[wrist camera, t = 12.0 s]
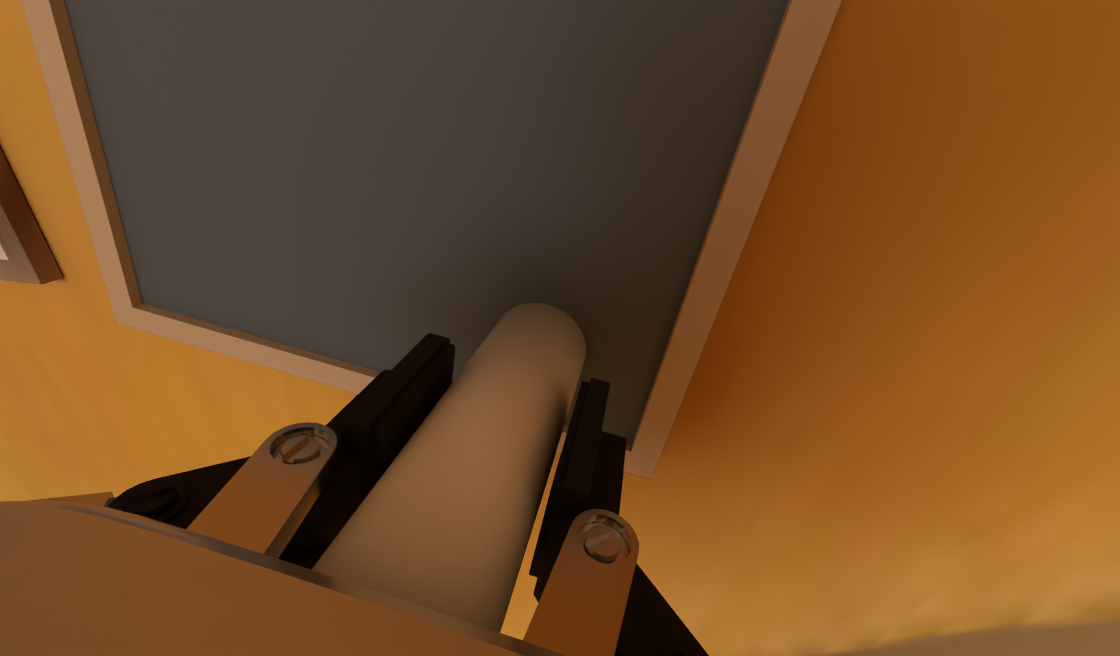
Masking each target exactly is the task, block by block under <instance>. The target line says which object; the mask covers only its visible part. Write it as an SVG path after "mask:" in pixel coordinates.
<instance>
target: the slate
mask: <svg viewBox="0 0 1120 656" xmlns="http://www.w3.org/2000/svg"><path fill="white" fill-rule="evenodd" d="M21 2H22V5H23V9H24V12H25V15H26V19H27V22H28V26H29V29H30V32H31V36H32V39H33V43H34V46H35V49H36V53H37V56H38V60H39V63H40V66H41V70H42V73H43V76H44V80H45V83H46V87H47V90H48V93H49V97H50V100H51V104H52V107H53V110H54V114H55V117H56V120H57V124H58V127H59V131H60V134H61V137H62V141H63V144H64V148H65V151H66V154H67V158H68V161H69V164H70V168H71V171H72V175H73V178H74V181H75V185H76V188H77V192H78V195H79V198H80V202H81V205H82V209H83V212H84V215H85V219H86V222H87V225H88V229H89V232H90V236H91V239H92V242H93V246H94V249H95V253H96V256H97V259H98V263H99V266H100V269H101V273H102V276H103V280H104V283H105V286H106V290H107V293H108V297H109V300H110V303H111V307H112V310H113V314H114V317H115V320H116V323H118V324H121V325H125V326H128V327H131V328H135V329H138V330H142V331H145V332H148V333H152V334H155V335H159V336H162V337H166V338H169V339H172V340H176V341H179V342H183V343H186V344H189V345H193V346H196V347H200V348H203V349H206V350H210V351H213V352H217V353H220V354H223V355H227V356H230V357H234V358H237V359H240V360H244V361H247V362H251V363H254V364H258V365H261V366H264V367H268V368H271V369H275V370H278V371H281V372H285V373H288V374H292V375H295V376H298V377H302V378H305V379H309V380H312V381H315V382H319V383H322V384H326V385H329V386H332V387H336V388H339V389H343V390H346V391H350V392H353V393H356V394H359V393H360V392H361V391H362V390H363V389H364V388H365V387H366V386H367V385H368V384H369V383H370V382H371V381H372V380H373V379H374V378H375V377H376V376H377V375H378V374H379V373H381V372H382V371H383V370H387V369H388V370H392V369H393V368H394V367H395V366H396V365H397V364H398V363H399V362H400V361H401V360H402V359H403V358H404V357H405V356H406V355H407V354H408V353H409V352H410V351H411V350H412V349H413V348H414V347H415V346H416V345H417V344H418V343H419V342H420V341H421V340H422V339H423V338H424V337H425V336H426V335H427V334H428V333H433V334H436V335H440V336H443V337H447V338H449V339H450V344H453V345H455V357H454V367H453V377H452V383H453V381H454V380H455V379H456V377H457V376H458V375H459V373H460V372H461V371H462V369H463V368H464V367H465V365H466V364H467V363H468V361H469V360H470V359H471V357H472V356H473V355H474V353H475V352H476V351H477V350H478V348H479V347H480V346H481V344H482V343H483V342H484V340H485V339H486V338H487V336H488V335H489V334H490V332H491V331H492V330H493V328H494V327H495V326H496V324H497V323H498V322H499V320H500V319H501V318H502V317H503V315H504V314H505V313H506V312H508V311H509V310H510V309H512V308H514V307H516V306H518V305H521V304H525V303H535V302H536V303H544V304H549V305H552V306H555V307H557V308H559V309H561V310H562V311H564V312H566V313H567V314H568V315H569V316H571V317H572V318H573V319H574V320H575V322H576V323H577V324H578V326H579V327H580V329H581V331H582V333H583V335H584V338H585V342H586V356H585V361H584V364H583V367H582V370H581V373H580V377H579V380H578V383H577V386H576V390H575V393H574V396H573V399H572V402H571V406H570V409H569V412H568V415H567V419H566V422H565V425H564V428H563V431H562V435H561V438H560V441H559V444H558V448H557V451H556V452H557V453H561V452H562V448H563V445H564V441H565V438H566V434H567V431H568V427H569V424H570V420H571V417H572V414H573V410H574V407H575V403H576V400H577V396H578V393H579V389H580V386H581V382H582V381H586V382H589V383H590V379H591V378H595V379H598V380H602V381H606V382H609V383H610V388H609V394H608V399H607V404H606V410H605V415H604V421H603V426H602V431H604V432H607V433H611V434H614V435H618V436H621V437H625V438H626V439H627V443H626V453H625V462H624V472H626V473H629V474H632V475H636V476H639V477H643V478H646V479H649V480H651V478H652V476H653V473H654V471H655V468H656V466H657V463H658V461H659V458H660V456H661V453H662V451H663V448H664V446H665V443H666V441H667V438H668V436H669V433H670V431H671V428H672V426H673V423H674V421H675V418H676V416H677V413H678V411H679V408H680V406H681V403H682V401H683V398H684V396H685V393H686V391H687V388H688V386H689V383H690V381H691V378H692V376H693V373H694V371H695V368H696V366H697V363H698V361H699V358H700V355H701V353H702V350H703V348H704V345H705V343H706V340H707V338H708V335H709V333H710V330H711V328H712V325H713V323H714V320H715V318H716V315H717V313H718V310H719V308H720V305H721V303H722V300H723V298H724V295H725V293H726V290H727V288H728V285H729V283H730V280H731V278H732V275H733V273H734V270H735V268H736V265H737V263H738V260H739V258H740V255H741V253H742V250H743V248H744V245H745V243H746V240H747V238H748V235H749V232H750V230H751V227H752V225H753V222H754V220H755V217H756V215H757V212H758V210H759V207H760V205H761V202H762V200H763V197H764V195H765V192H766V190H767V187H768V185H769V182H770V180H771V177H772V175H773V172H774V170H775V167H776V165H777V162H778V160H779V157H780V155H781V152H782V150H783V147H784V145H785V142H786V140H787V137H788V135H789V132H790V130H791V127H792V125H793V122H794V120H795V117H796V115H797V112H798V109H799V107H800V104H801V102H802V99H803V97H804V94H805V92H806V89H807V87H808V84H809V82H810V79H811V77H812V74H813V72H814V69H815V67H816V64H817V62H818V59H819V57H820V54H821V52H822V49H823V47H824V44H825V42H826V39H827V37H828V34H829V32H830V29H831V27H832V24H833V22H834V19H835V17H836V14H837V12H838V9H839V7H840V4H841V2H842V0H21Z"/></svg>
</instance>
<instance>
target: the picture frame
mask: <svg viewBox="0 0 1120 656" xmlns="http://www.w3.org/2000/svg"><path fill="white" fill-rule="evenodd" d="M61 278H63V276H62V274H61V272H60V270H59V268H58V266H57V264H56V262H55V260H54V258H53V256H52V254H51V251H50V249H49V247H48V245H47V243H46V241H45V239H44V237H43V235H42V233H41V231H40V229H39V227H38V225H37V223H36V220H35V218H34V216H33V214H32V212H31V210H30V208H29V206H28V204H27V202H26V200H25V198H24V196H23V194H22V192H21V189H20V187H19V185H18V183H17V181H16V179H15V177H14V175H13V173H12V171H11V169H10V167H9V165H8V163H7V161H6V158H5V156H4V154H3V152H2V150H1V148H0V280H6V281H15V282H24V283H33V284H44V283H48V282H51V281H55V280H58V279H61Z"/></svg>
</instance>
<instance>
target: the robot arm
mask: <svg viewBox="0 0 1120 656" xmlns="http://www.w3.org/2000/svg"><path fill="white" fill-rule="evenodd" d="M454 357H455V345H453V344H450V339H449V338H447V337H443V336H440V335H436V334H433V333H428V334H427V335H426V336H425V337H424V338H423V339H422V340H421V341H420V342H419V343H418V344H417V345H416V346H415V347H414V348H413V349H412V350H411V351H410V352H409V353H408V354H407V355H406V356H405V357H404V358H403V359H402V360H401V361H400V362H399V363H398V364H397V365H396V366H395V367H394V368H393V369H392V370H388V369H387V370H383V371H382V372H381V373H379V374H378V375H377V376H376V377H375V378H374V379H373V380H372V381H371V382H370V383H369V384H368V385H367V386H366V387H365V388H364V389H363V390H362V391H361V392H360V393H359V394H358V395H357V396H356V397H355V398H354V399H353V400H352V401H351V402H350V403H349V404H348V405H346V406H345V407H344V408H343V409H342V410H341V411H340V412H339V413H338V414H337V415H336V416H335V417H334V418H333V419H332V420H331V421H330V422H329V423H328V424H327V425H326V426H325V425H322V424H318V423H308V422H307V423H298V424H293V425H290V426H287V427H284V428H282V429H280V430H278V431H276V432H274V433H273V434H272V435H271V436H270V437H268V438H267V439H266V440H265V441H264V443H263V444H262V445H261V446H260V447H259V448H258V449H257V450H256V452H255V453H254V454H253V455H252V456H251V457H246V458H242V459H238V460H233V461H229V462H225V463H221V464H216V465H212V466H208V467H204V468H199V469H195V470H191V471H187V472H182V473H178V474H174V475H169V476H165V477H161V478H157V479H153V480H150V481H147V482H144V483H140V484H138V485H136V486H134V487H132V488H130V489H128V490H126V491H125V492H123V493H122V494H121V495H119V496H118V497H115V498H114V496H113V493H112V492H105V493H95V494H86V495H76V496H67V497H57V498H48V499H38V500H29V501H3V502H0V656H709V655H708V654H707V653H706V651H705V650H704V649H703V648H702V646H701V645H700V644H699V642H698V641H697V640H696V639H695V637H694V636H693V635H692V633H691V632H690V631H689V630H688V628H687V627H686V626H685V625H684V623H683V622H682V621H681V619H680V618H679V617H678V616H677V614H676V613H675V612H674V610H673V609H672V608H671V607H670V605H669V604H668V603H667V602H666V600H665V599H664V598H663V596H662V595H661V594H660V593H659V591H658V590H657V589H656V587H655V586H654V585H653V584H652V582H651V581H650V580H649V579H648V577H647V576H646V575H645V573H644V572H643V571H642V570H641V568H640V567H639V566H638V564H637V563H636V561H637V557H638V552H639V543H638V539H637V536H636V533H635V532H634V530H633V529H632V527H631V526H630V524H628V523H627V522H626V521H625V520H624V519H623V518H622V517H620V516H619V509H620V500H621V491H622V481H623V472H624V462H625V453H626V443H627V439H626V438H625V437H621V436H618V435H614V434H611V433H607V432H604V431H602V426H603V421H604V415H605V410H606V404H607V399H608V394H609V388H610V383H609V382H606V381H602V380H598V379H595V378H591V379H590V383H589V382H586V381H582V382H581V386H580V389H579V393H578V396H577V400H576V403H575V407H574V410H573V414H572V417H571V420H570V424H569V427H568V431H567V434H566V438H565V441H564V445H563V448H562V452H561V455H560V459H559V462H558V466H557V469H556V473H555V476H554V480H553V483H552V487H551V491H550V495H549V499H548V502H547V506H546V510H545V514H544V518H543V522H542V525H541V529H540V533H539V537H538V541H537V545H536V549H535V552H534V556H533V560H532V564H531V568H530V572H529V575H532V576H535V577H538V578H537V582H536V586H535V590H534V596H535V598H536V599H537V601H538V605H537V608H536V610H535V613H534V615H533V617H532V620H531V622H530V625H529V627H528V629H527V632H526V634H525V636H524V639H523V640H520V639H517V638H514V637H511V636H508V635H505V634H502V633H499V632H496V631H493V630H490V629H487V628H484V627H481V626H478V625H475V624H472V623H469V622H466V621H463V620H461V619H458V618H455V617H452V616H449V615H446V614H443V613H440V612H437V611H434V610H431V609H428V608H425V607H422V606H419V605H416V604H413V603H410V602H407V601H404V600H401V599H398V598H395V597H392V596H389V595H386V594H383V593H380V592H377V591H374V590H371V589H368V588H365V587H362V586H359V585H356V584H353V583H350V582H347V581H344V580H340V579H337V578H334V577H331V576H328V575H325V574H322V573H319V572H316V571H313V570H312V568H313V567H314V566H315V564H316V563H317V562H318V560H319V559H320V558H321V556H322V555H323V554H324V552H325V551H326V550H327V548H328V547H329V546H330V545H331V543H332V542H333V541H334V539H335V538H336V537H337V535H338V534H339V533H340V531H341V530H342V529H343V527H344V526H345V525H346V523H347V522H348V521H349V519H350V518H351V517H352V515H353V514H354V513H355V511H356V510H357V509H358V507H359V506H360V505H361V503H362V502H363V501H364V499H365V498H366V497H367V495H368V494H369V493H370V491H371V490H372V489H373V487H374V486H375V485H376V483H377V482H378V481H379V480H380V478H381V477H382V476H383V474H384V473H385V472H386V470H387V469H388V468H389V466H390V465H391V464H392V462H393V461H394V460H395V458H396V457H397V456H398V454H399V453H400V452H401V450H402V449H403V448H404V446H405V445H406V444H407V442H408V441H409V440H410V438H411V437H412V436H413V434H414V433H415V432H416V430H417V429H418V428H419V426H420V425H421V424H422V422H423V421H424V420H425V418H426V417H427V416H428V415H429V413H430V412H431V411H432V409H433V408H434V407H435V405H436V404H437V403H438V401H439V400H440V399H441V397H442V396H443V395H444V393H445V392H446V391H447V389H448V388H449V387H450V385H451V384H452V377H453V367H454Z"/></svg>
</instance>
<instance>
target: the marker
mask: <svg viewBox="0 0 1120 656" xmlns="http://www.w3.org/2000/svg"><path fill="white" fill-rule="evenodd" d="M585 356H586V342H585V338H584V335H583V333H582V331H581V329H580V327H579V326H578V324H577V323H576V322H575V320H574V319H573V318H572V317H571V316H569V315H568V314H567V313H566V312H564V311H562V310H561V309H559V308H557V307H555V306H552V305H549V304H544V303H536V302H535V303H525V304H521V305H518V306H516V307H514V308H512V309H510V310H509V311H508V312H506V313H505V314H504V315H503V317H502V318H501V319H500V320H499V322H498V323H497V324H496V326H495V327H494V328H493V330H492V331H491V332H490V334H489V335H488V336H487V338H486V339H485V340H484V342H483V343H482V344H481V346H480V347H479V348H478V350H477V351H476V352H475V353H474V355H473V356H472V357H471V359H470V360H469V361H468V363H467V364H466V365H465V367H464V368H463V369H462V371H461V372H460V373H459V375H458V376H457V377H456V379H455V380H454V381H453V383H452V384H451V385H450V387H449V388H448V389H447V391H446V392H445V393H444V395H443V396H442V397H441V399H440V400H439V401H438V403H437V404H436V405H435V407H434V408H433V409H432V411H431V412H430V413H429V415H428V416H427V417H426V418H425V420H424V421H423V422H422V424H421V425H420V426H419V428H418V429H417V430H416V432H415V433H414V434H413V436H412V437H411V438H410V440H409V441H408V442H407V444H406V445H405V446H404V448H403V449H402V450H401V452H400V453H399V454H398V456H397V457H396V458H395V460H394V461H393V462H392V464H391V465H390V466H389V468H388V469H387V470H386V472H385V473H384V474H383V476H382V477H381V478H380V480H379V481H378V482H377V483H376V485H375V486H374V487H373V489H372V490H371V491H370V493H369V494H368V495H367V497H366V498H365V499H364V501H363V502H362V503H361V505H360V506H359V507H358V509H357V510H356V511H355V513H354V514H353V515H352V517H351V518H350V519H349V521H348V522H347V523H346V525H345V526H344V527H343V529H342V530H341V531H340V533H339V534H338V535H337V537H336V538H335V539H334V541H333V542H332V543H331V545H330V546H329V547H328V548H327V550H326V551H325V552H324V554H323V555H322V556H321V558H320V559H319V560H318V562H317V563H316V564H315V566H314V567H313V568H312V570H313V571H316V572H319V573H322V574H325V575H328V576H331V577H334V578H337V579H340V580H344V581H347V582H350V583H353V584H356V585H359V586H362V587H365V588H368V589H371V590H374V591H377V592H380V593H383V594H386V595H389V596H392V597H395V598H398V599H401V600H404V601H407V602H410V603H413V604H416V605H419V606H422V607H425V608H428V609H431V610H434V611H437V612H440V613H443V614H446V615H449V616H452V617H455V618H458V619H461V620H463V621H466V622H469V623H472V624H475V625H478V626H481V627H484V628H487V629H490V630H493V631H496V632H499V633H500V631H501V628H502V625H503V622H504V619H505V615H506V612H507V609H508V606H509V602H510V599H511V596H512V593H513V589H514V586H515V583H516V580H517V577H518V573H519V570H520V567H521V564H522V560H523V557H524V554H525V551H526V548H527V544H528V541H529V538H530V535H531V531H532V528H533V525H534V522H535V519H536V515H537V512H538V509H539V506H540V502H541V499H542V496H543V493H544V490H545V486H546V483H547V480H548V477H549V473H550V470H551V467H552V464H553V461H554V457H555V454H556V451H557V448H558V444H559V441H560V438H561V435H562V431H563V428H564V425H565V422H566V419H567V415H568V412H569V409H570V406H571V402H572V399H573V396H574V393H575V390H576V386H577V383H578V380H579V377H580V373H581V370H582V367H583V364H584V361H585Z"/></svg>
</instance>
